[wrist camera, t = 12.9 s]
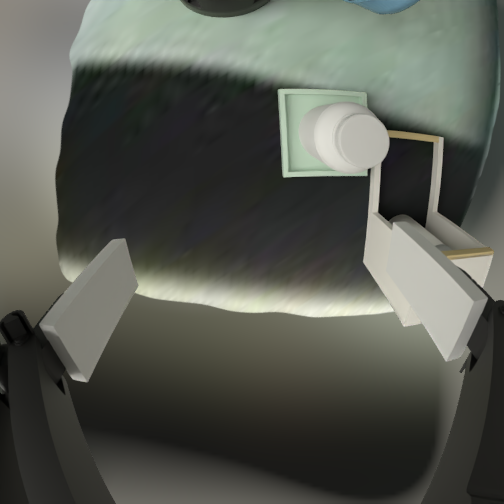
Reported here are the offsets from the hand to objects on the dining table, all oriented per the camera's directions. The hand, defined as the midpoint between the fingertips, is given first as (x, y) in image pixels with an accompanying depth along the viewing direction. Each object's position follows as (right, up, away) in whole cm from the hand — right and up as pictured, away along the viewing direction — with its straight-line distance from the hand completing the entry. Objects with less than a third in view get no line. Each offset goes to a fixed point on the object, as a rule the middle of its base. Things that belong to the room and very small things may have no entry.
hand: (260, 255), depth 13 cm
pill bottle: (+10, +17, +23) cm, 30 cm away
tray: (+10, +17, +24) cm, 31 cm away
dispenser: (+24, +9, +28) cm, 38 cm away
